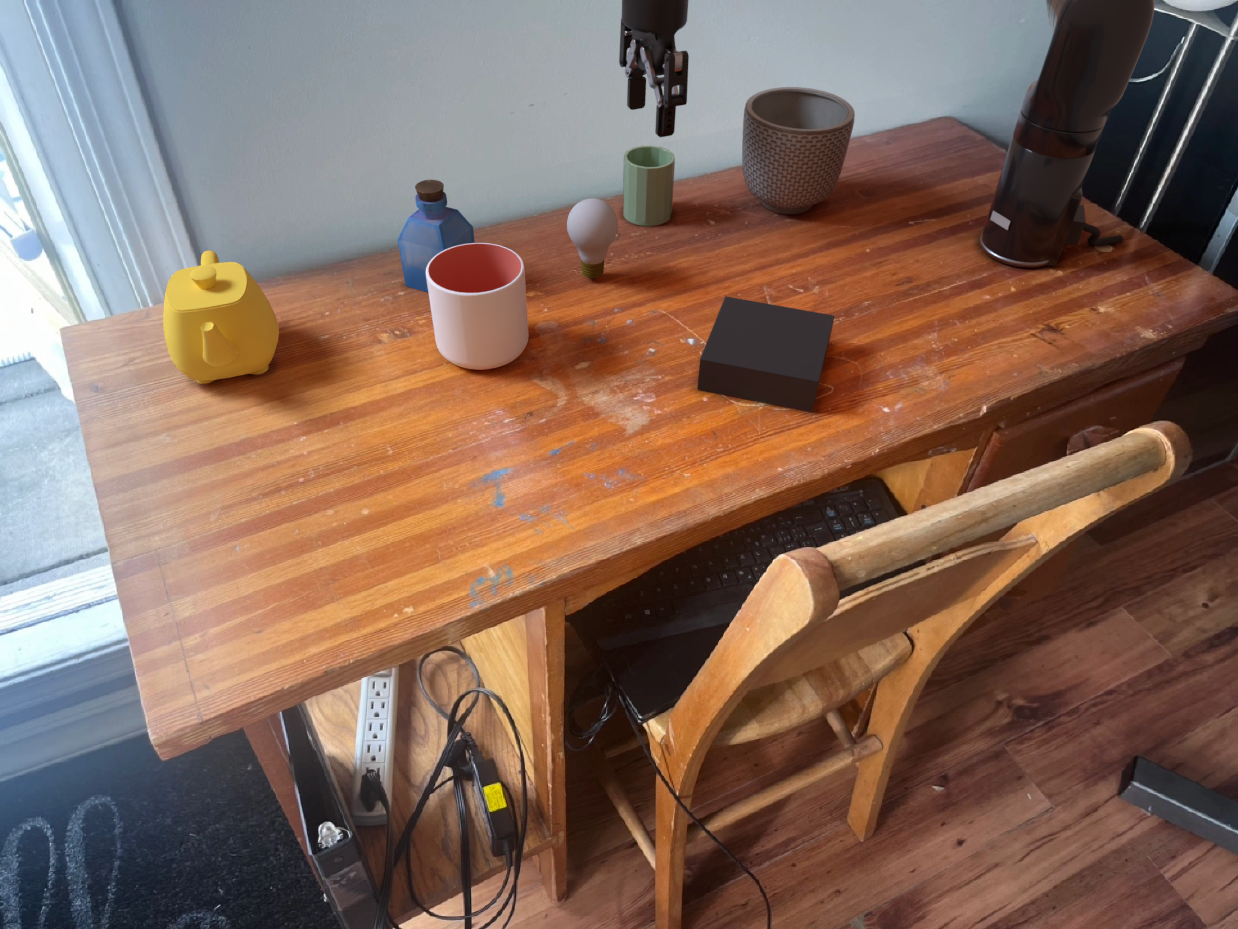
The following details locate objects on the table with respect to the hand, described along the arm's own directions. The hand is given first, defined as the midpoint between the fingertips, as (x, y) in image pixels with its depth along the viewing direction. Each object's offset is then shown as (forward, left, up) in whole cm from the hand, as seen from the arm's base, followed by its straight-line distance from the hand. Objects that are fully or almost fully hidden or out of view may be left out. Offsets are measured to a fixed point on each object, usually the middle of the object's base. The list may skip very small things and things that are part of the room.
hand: (649, 121), depth 116 cm
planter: (-17, -9, -13) cm, 23 cm away
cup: (+9, +34, -13) cm, 37 cm away
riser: (-21, +28, -13) cm, 37 cm away
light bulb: (+2, +17, -13) cm, 21 cm away
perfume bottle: (+19, +23, -13) cm, 32 cm away
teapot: (+33, +45, -13) cm, 57 cm away
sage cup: (0, 0, -13) cm, 13 cm away
